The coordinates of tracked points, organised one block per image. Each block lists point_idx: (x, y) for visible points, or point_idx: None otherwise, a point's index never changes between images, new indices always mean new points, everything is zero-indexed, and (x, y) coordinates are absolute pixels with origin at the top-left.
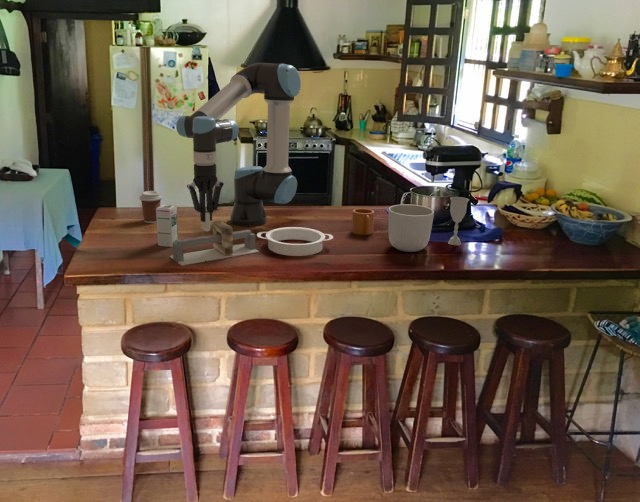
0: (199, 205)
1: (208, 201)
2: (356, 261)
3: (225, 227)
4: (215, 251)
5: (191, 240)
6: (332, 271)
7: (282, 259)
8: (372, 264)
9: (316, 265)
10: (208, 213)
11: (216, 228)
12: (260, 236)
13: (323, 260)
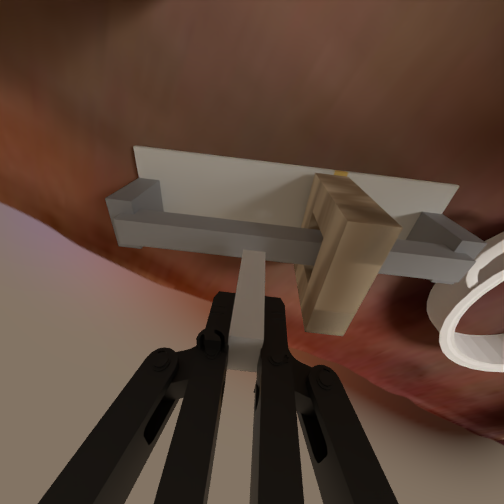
0: (153, 442)
1: (251, 481)
2: (471, 388)
3: (318, 324)
4: (300, 200)
5: (176, 249)
6: (390, 391)
7: (390, 326)
8: (469, 402)
9: (401, 370)
10: (247, 367)
11: (325, 248)
12: (482, 265)
13: (440, 364)
